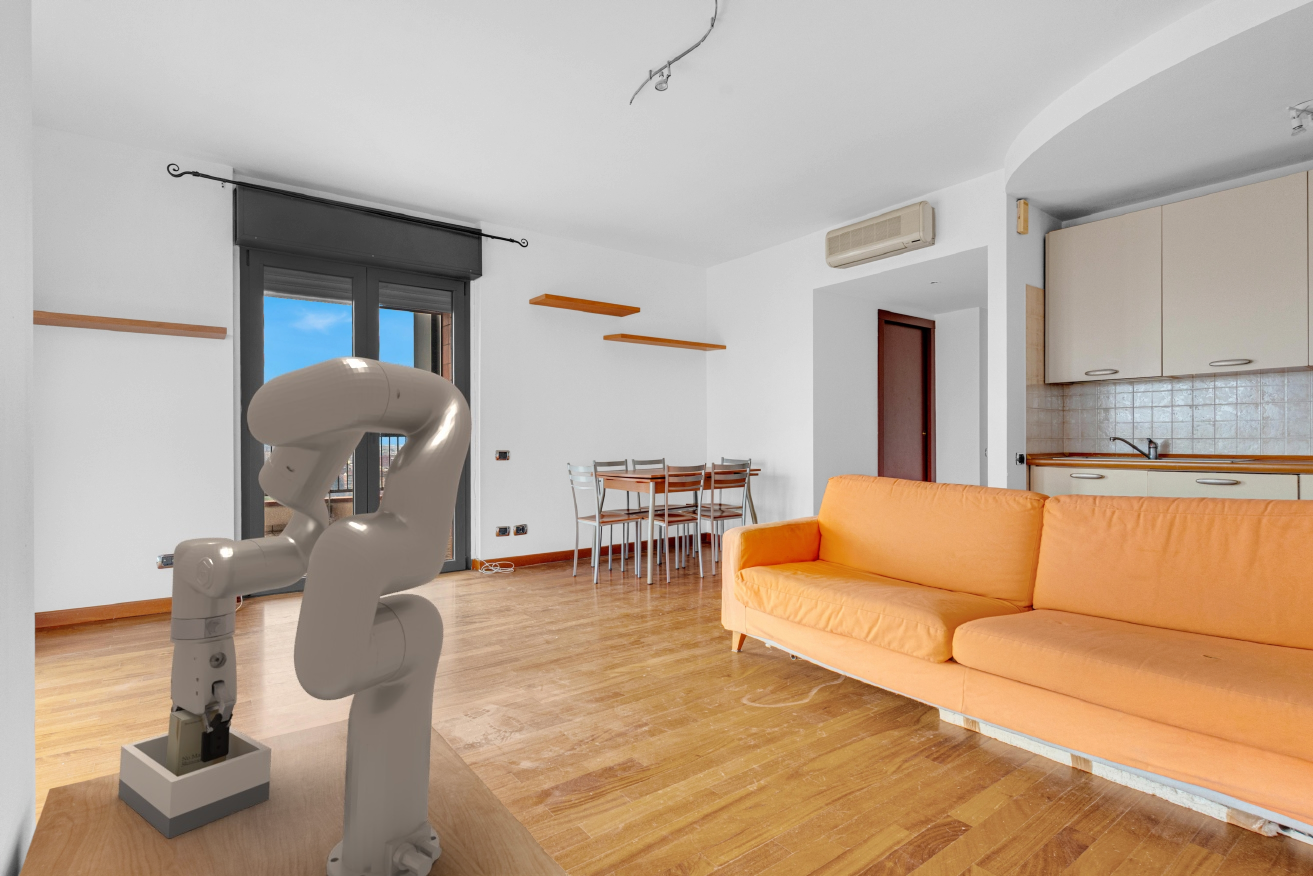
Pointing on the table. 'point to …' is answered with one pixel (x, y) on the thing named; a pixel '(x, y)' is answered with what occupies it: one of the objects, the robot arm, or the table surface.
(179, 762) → the skincare box
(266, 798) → the box
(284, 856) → the table surface
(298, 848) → the table surface
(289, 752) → the table surface
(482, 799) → the table surface
